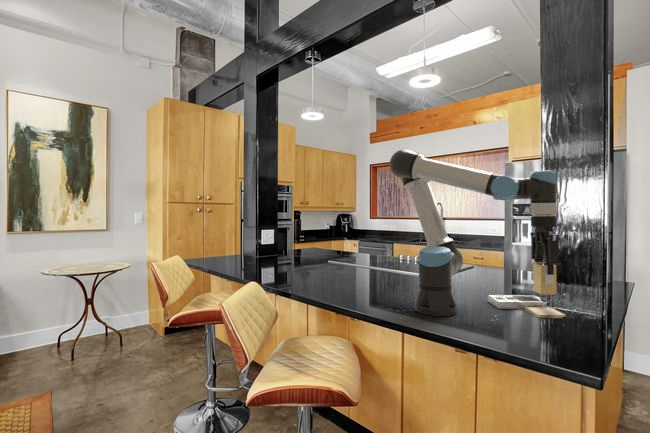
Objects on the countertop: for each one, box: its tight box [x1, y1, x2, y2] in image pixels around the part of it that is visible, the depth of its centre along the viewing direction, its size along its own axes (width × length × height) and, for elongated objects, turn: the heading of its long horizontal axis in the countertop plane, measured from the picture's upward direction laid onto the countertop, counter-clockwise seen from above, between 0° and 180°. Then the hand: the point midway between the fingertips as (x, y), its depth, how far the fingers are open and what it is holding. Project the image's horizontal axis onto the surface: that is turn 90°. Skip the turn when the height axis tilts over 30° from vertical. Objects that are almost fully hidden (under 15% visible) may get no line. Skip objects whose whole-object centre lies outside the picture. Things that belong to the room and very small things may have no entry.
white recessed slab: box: [487, 294, 547, 310], centre depth 130 cm, size 18×10×3 cm, turn 84°
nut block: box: [532, 262, 558, 295], centre depth 118 cm, size 5×5×10 cm
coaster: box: [523, 306, 567, 319], centre depth 119 cm, size 9×9×2 cm
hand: (544, 282), depth 118 cm, fingers closed on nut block, 5 cm apart
